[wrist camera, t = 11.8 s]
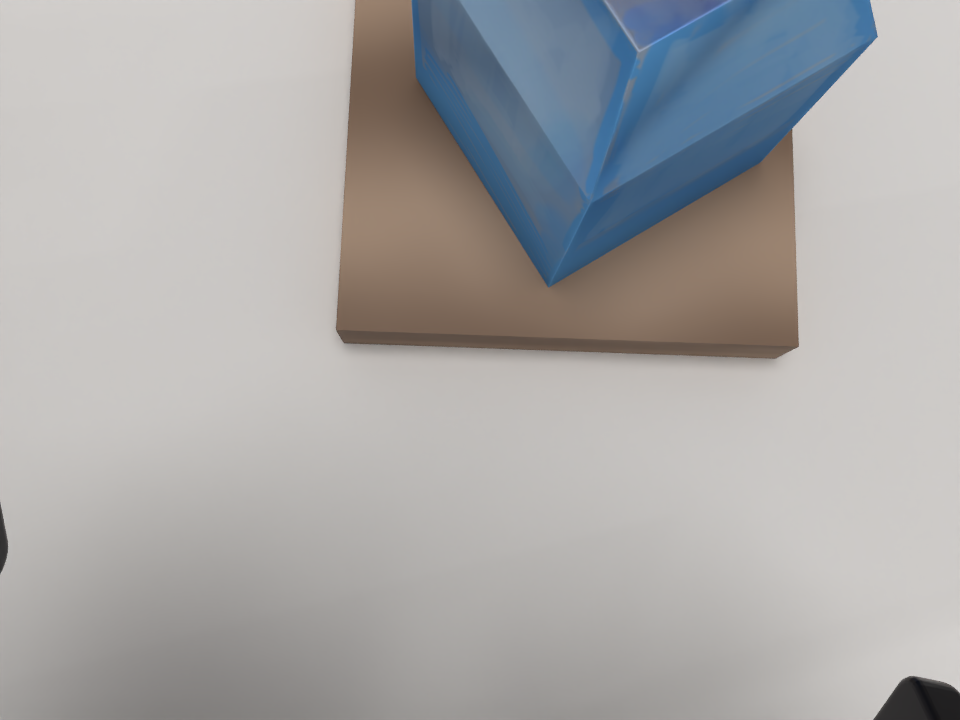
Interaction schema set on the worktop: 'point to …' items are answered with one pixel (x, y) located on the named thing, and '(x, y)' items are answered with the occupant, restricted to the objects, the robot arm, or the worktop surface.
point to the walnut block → (505, 264)
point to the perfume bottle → (623, 103)
